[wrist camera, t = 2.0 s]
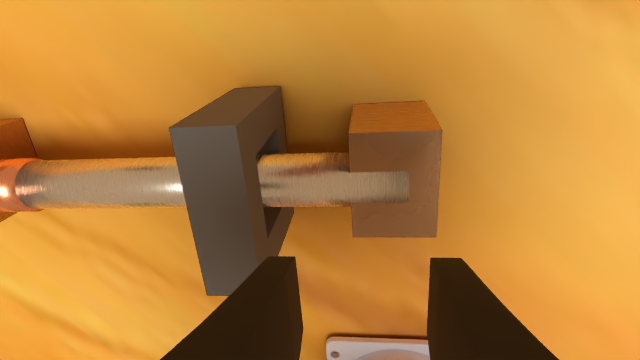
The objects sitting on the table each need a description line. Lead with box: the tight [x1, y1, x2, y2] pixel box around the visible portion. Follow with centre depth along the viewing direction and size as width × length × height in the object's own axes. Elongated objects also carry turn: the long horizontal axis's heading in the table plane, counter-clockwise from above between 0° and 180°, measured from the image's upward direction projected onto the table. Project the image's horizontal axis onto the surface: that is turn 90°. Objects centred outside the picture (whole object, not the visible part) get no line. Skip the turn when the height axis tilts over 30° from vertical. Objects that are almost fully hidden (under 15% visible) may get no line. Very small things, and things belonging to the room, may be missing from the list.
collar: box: [169, 86, 294, 296], centre depth 15 cm, size 2×6×6 cm, turn 4°
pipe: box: [0, 101, 442, 237], centre depth 17 cm, size 22×4×5 cm, turn 94°
